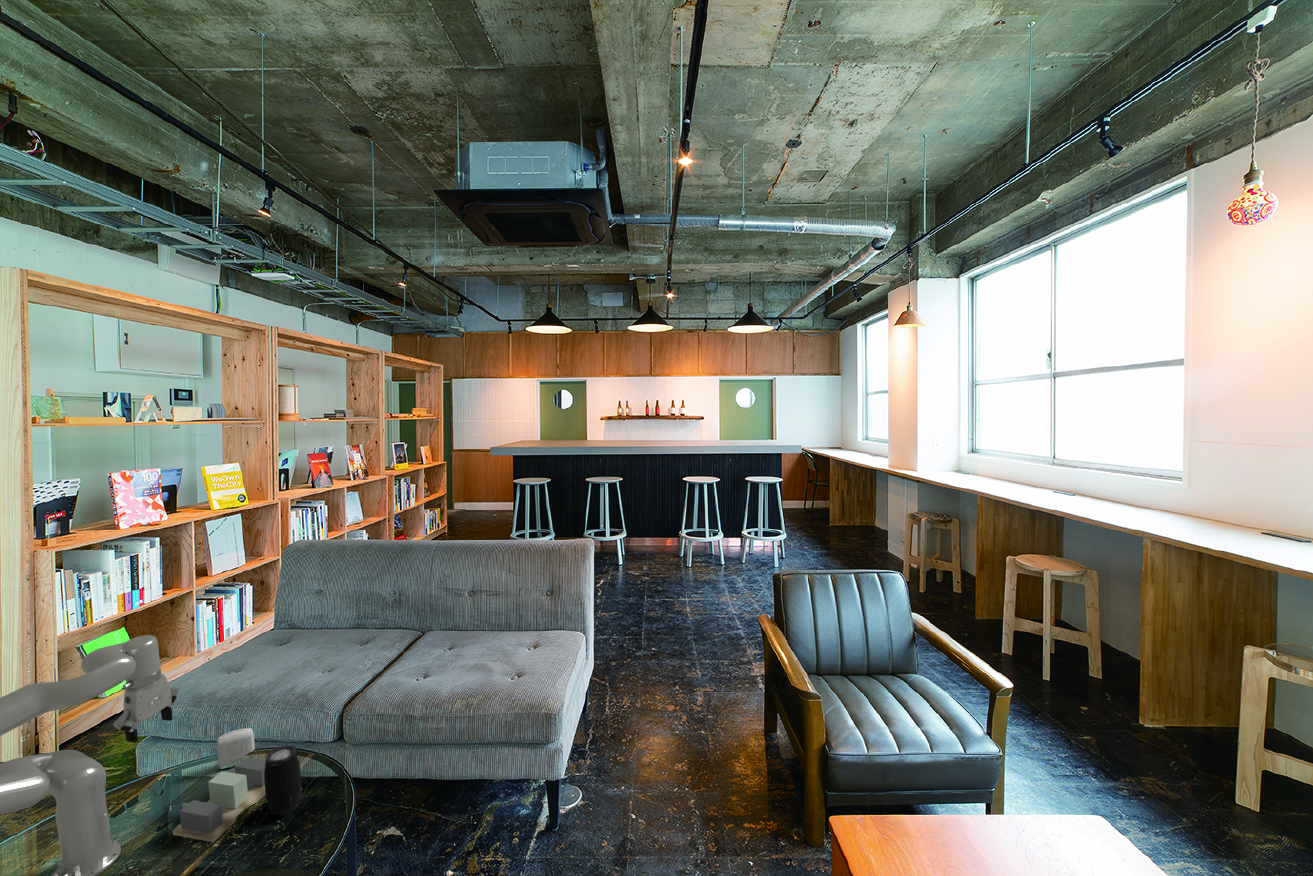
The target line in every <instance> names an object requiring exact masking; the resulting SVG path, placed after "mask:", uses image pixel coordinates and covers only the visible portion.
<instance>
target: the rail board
mask: <svg viewBox="0 0 1313 876" xmlns="http://www.w3.org/2000/svg"><path fill="white" fill-rule="evenodd" d="M265 763H266V760H263V759H256V758H255V759H250V758H245V759H243V760H242V761H241V762H240V763H238V764H237V765H236V766H235V767H234V771H235V772H234V773H236V774H242V775H246V778H247V789H248V798H247V799H246V800H245V801H244V802H243V803H241V804H240V805H239V806H238V807H237V808H236V809H234V808H228V807H222V806H221V805H217V804H212V803H210V799H208V800H207V801H206V802H204V801H199V800H194V799H193V800H192V801H190V802H189V803H187V804H186V805H185V806H183V808H181V809H180V810H179V817H180V823H179V824H178V825H177V826H176V827H175V828H174V829H172V836H178V837H183V838H188V839H195V840H198V841H199V840H201V841H205V842H209V843H214V842H215V841H217V839H219V838H220V837H221V836H222V835H223V834H224V833H225V832H227V831H228V830H229V829H230V828H231V827H230V825H232V824H233V823H234V821H235V819H236V817H237V816H238V815H239V814H240V813H241V812H242V811H243V810H244V809H245V808H248V807H249V806H251V805H253V804H255V803H256V804H257V803H258V802H259V801H261V799H263V798H264V797H265V796H266V793H265V783H264V771H265ZM256 804H255V805H256ZM234 824H235V823H234ZM234 824H233V825H234ZM233 825H232V826H233ZM229 827H230V828H229Z"/></svg>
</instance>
